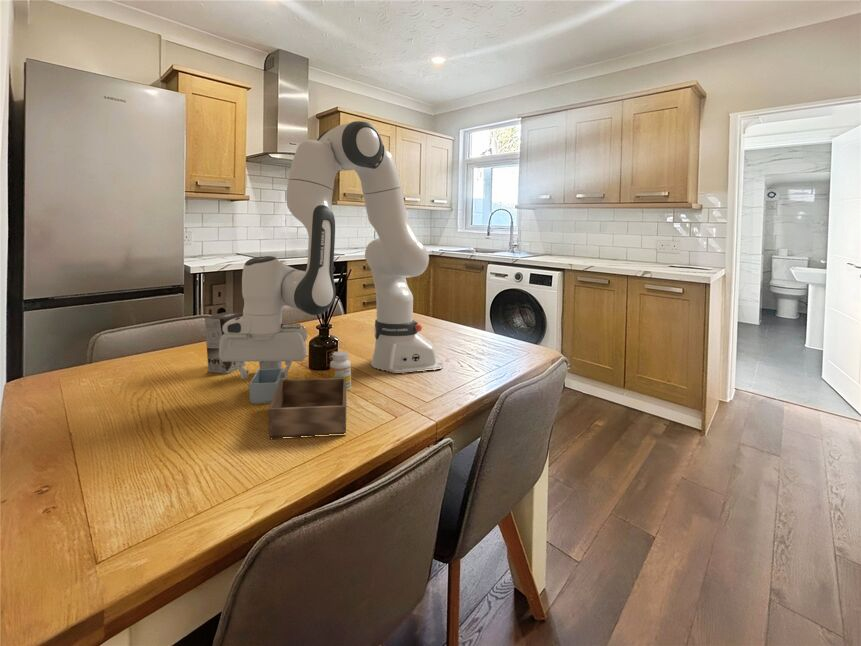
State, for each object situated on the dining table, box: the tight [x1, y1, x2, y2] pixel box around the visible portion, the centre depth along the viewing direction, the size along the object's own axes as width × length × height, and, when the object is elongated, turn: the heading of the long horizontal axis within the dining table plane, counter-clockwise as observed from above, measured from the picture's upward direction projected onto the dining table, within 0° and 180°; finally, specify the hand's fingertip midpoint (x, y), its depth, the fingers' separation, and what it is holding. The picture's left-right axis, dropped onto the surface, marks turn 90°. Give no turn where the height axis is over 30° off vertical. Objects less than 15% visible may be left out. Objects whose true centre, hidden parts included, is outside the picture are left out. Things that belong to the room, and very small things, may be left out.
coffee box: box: [204, 311, 246, 375], centre depth 131 cm, size 9×6×16 cm
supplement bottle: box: [329, 350, 352, 391], centre depth 119 cm, size 5×5×10 cm
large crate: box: [267, 377, 347, 440], centre depth 100 cm, size 15×17×6 cm
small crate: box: [248, 368, 285, 405], centre depth 113 cm, size 6×11×5 cm, turn 10°
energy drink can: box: [258, 361, 283, 369], centre depth 128 cm, size 6×6×15 cm
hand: (264, 377), depth 113 cm, fingers open, 8 cm apart
